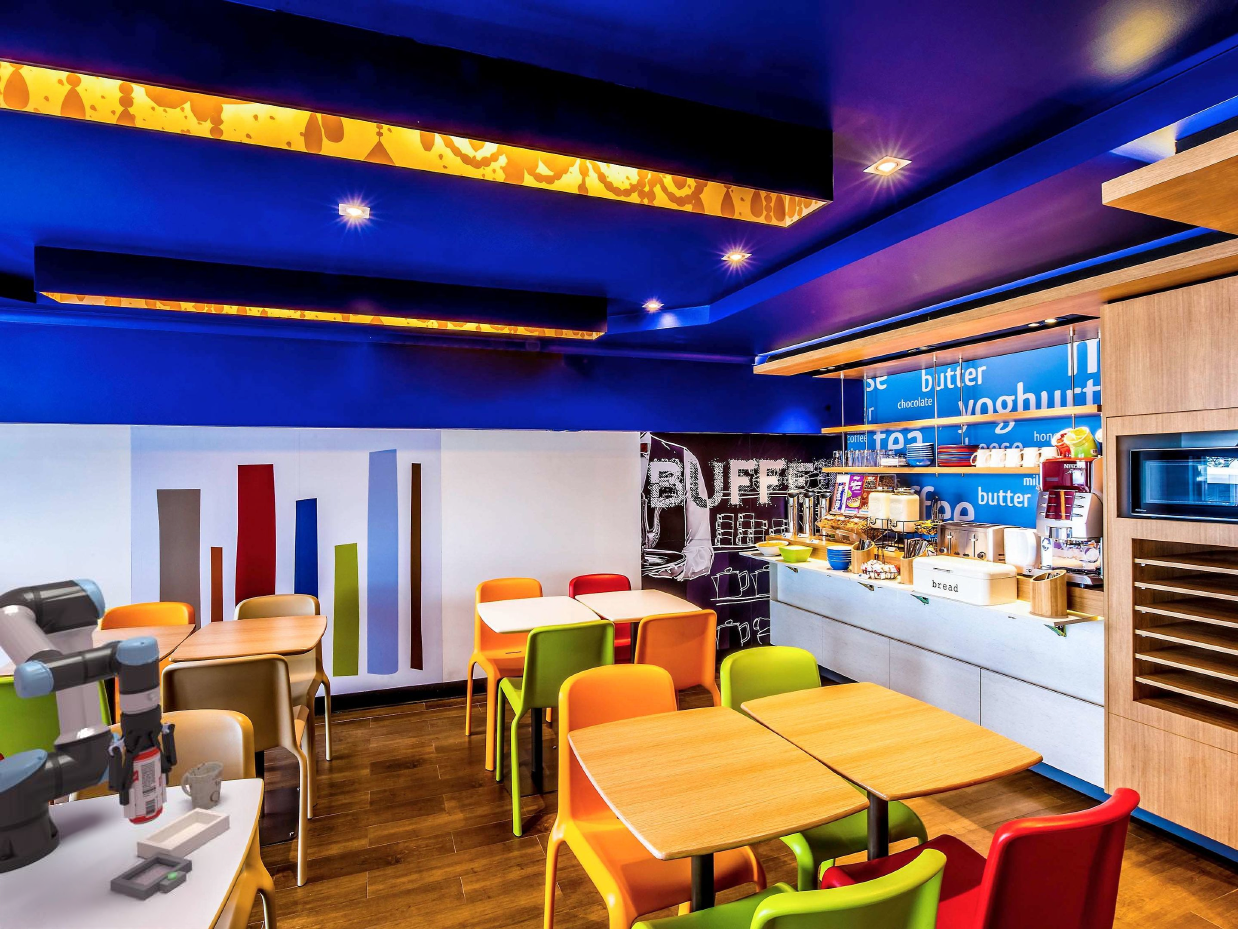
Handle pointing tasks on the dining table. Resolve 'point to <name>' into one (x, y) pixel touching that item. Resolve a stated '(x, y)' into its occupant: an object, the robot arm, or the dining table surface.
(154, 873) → the plate
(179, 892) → the dining table surface
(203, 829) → the cream rectangular tray
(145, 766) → the beer can
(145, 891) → the frame
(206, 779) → the mug
